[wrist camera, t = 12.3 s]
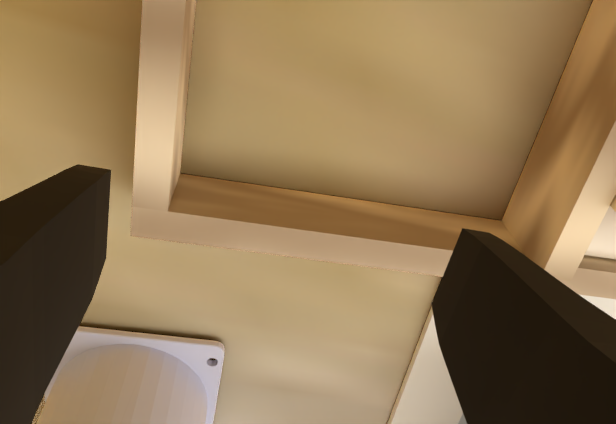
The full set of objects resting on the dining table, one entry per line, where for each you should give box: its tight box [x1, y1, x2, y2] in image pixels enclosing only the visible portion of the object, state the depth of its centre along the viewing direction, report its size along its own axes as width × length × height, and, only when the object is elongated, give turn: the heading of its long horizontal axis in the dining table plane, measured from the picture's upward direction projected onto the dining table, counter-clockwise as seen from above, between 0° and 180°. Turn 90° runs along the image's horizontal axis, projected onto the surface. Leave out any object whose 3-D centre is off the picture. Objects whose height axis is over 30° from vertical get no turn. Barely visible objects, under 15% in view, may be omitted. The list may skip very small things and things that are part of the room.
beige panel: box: [387, 295, 616, 424], centre depth 29 cm, size 16×10×1 cm, turn 169°
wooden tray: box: [131, 0, 616, 299], centre depth 19 cm, size 14×22×4 cm, turn 79°
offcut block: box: [585, 206, 616, 259], centre depth 22 cm, size 5×4×2 cm
